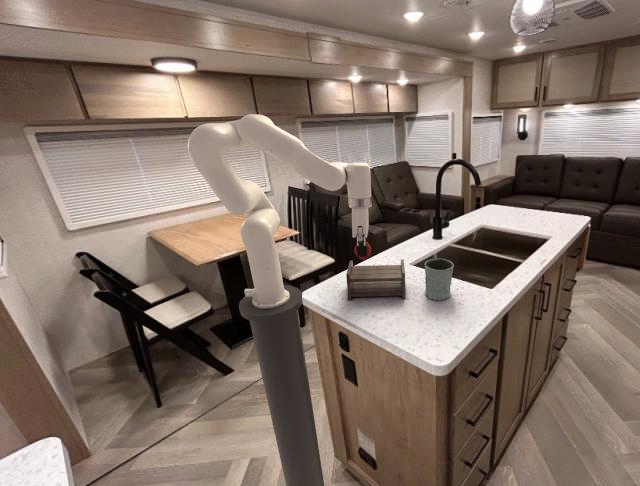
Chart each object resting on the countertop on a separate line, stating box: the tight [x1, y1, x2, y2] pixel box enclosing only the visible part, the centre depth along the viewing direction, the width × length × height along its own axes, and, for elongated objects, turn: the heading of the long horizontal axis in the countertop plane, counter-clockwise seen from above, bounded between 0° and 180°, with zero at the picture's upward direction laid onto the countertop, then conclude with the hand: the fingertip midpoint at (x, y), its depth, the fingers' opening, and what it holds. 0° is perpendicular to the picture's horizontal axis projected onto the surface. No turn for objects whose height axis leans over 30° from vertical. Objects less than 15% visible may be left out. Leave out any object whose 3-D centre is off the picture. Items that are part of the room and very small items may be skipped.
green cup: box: [424, 258, 455, 301], centre depth 113 cm, size 10×10×12 cm
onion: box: [353, 238, 372, 261], centre depth 111 cm, size 6×6×8 cm
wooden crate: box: [345, 259, 406, 301], centre depth 116 cm, size 20×12×10 cm, turn 92°
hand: (362, 252), depth 112 cm, fingers closed on onion, 5 cm apart
